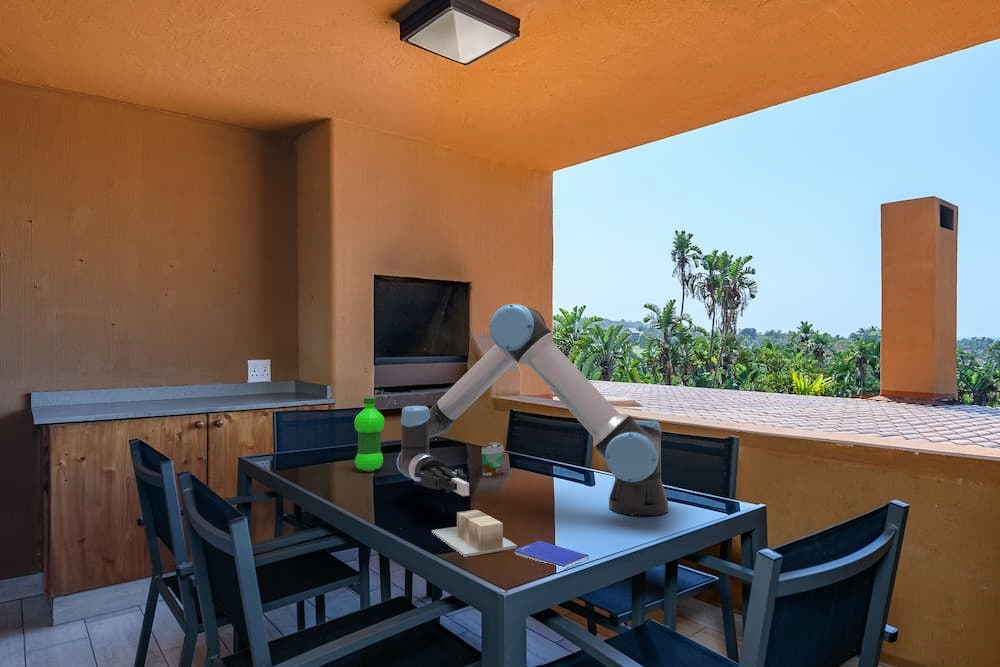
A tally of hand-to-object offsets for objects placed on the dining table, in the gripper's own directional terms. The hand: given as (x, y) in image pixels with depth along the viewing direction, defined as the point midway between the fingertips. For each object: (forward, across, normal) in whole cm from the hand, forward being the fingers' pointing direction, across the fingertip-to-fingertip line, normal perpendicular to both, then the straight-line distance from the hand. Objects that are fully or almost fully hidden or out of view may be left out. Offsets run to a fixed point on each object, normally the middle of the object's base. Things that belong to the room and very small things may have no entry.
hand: (466, 489), depth 131 cm
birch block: (-1, 0, -7) cm, 7 cm away
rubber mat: (+2, 0, -10) cm, 11 cm away
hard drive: (+19, -10, -11) cm, 24 cm away
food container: (-57, -36, -11) cm, 68 cm away
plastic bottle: (-83, -1, -11) cm, 83 cm away
